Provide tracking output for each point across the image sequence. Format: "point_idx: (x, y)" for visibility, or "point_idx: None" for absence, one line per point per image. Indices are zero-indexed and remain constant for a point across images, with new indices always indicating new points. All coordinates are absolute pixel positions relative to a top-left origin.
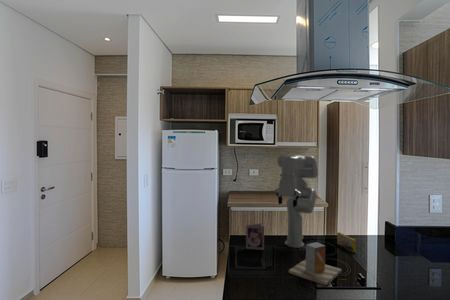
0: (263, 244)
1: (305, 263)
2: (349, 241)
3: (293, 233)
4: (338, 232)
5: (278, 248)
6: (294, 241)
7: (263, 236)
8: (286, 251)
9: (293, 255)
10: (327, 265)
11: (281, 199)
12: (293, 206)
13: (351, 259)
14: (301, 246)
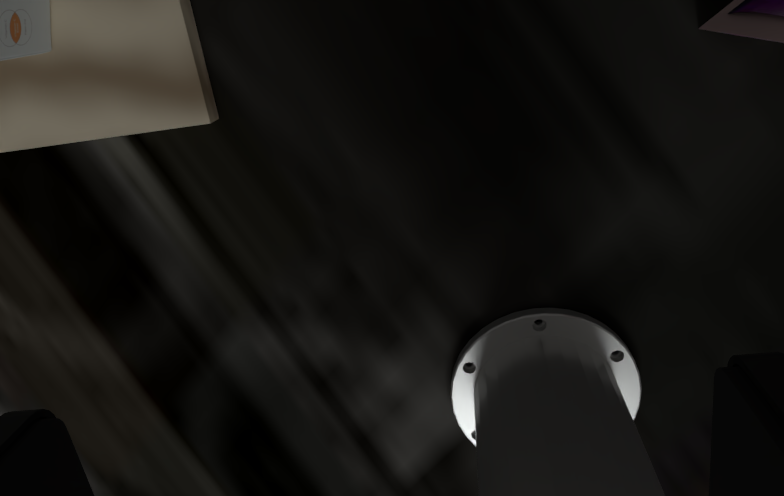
0: (730, 26)
1: (136, 18)
2: None
3: (531, 413)
4: None
5: (598, 190)
6: (511, 365)
7: (782, 32)
8: (490, 185)
9: (381, 151)
10: (9, 142)
11: None
12: (27, 410)
13: None
14: (452, 375)
